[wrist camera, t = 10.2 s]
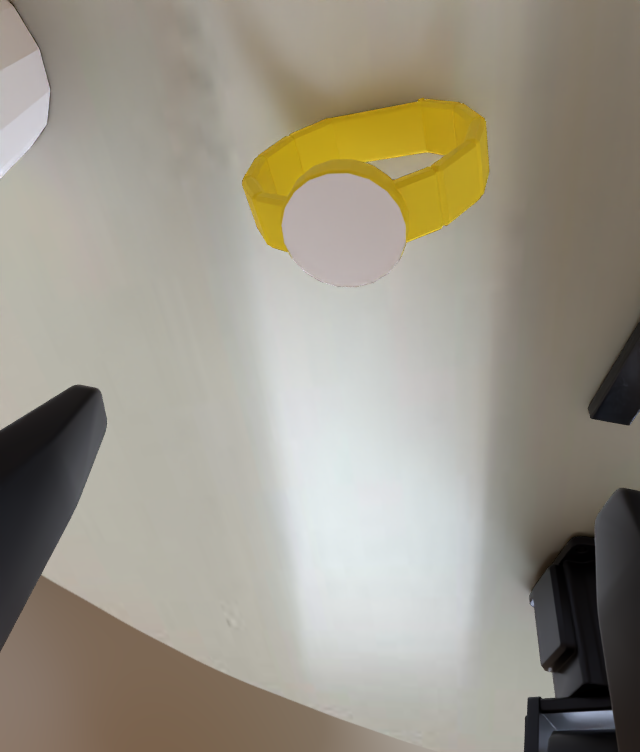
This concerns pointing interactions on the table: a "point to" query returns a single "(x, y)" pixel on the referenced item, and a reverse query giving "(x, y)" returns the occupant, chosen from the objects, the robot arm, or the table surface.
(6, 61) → the white tapered tub
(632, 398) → the fork
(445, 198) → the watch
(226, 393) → the table surface
